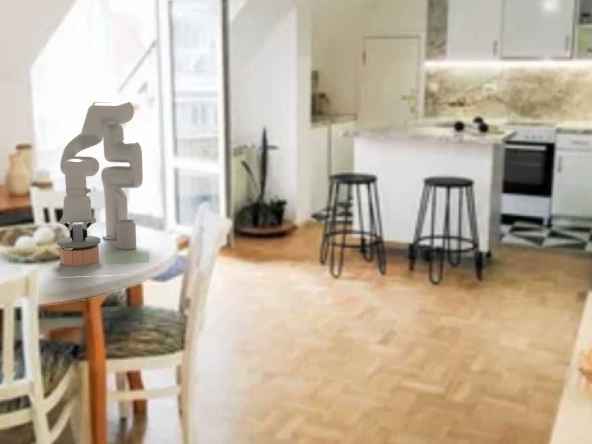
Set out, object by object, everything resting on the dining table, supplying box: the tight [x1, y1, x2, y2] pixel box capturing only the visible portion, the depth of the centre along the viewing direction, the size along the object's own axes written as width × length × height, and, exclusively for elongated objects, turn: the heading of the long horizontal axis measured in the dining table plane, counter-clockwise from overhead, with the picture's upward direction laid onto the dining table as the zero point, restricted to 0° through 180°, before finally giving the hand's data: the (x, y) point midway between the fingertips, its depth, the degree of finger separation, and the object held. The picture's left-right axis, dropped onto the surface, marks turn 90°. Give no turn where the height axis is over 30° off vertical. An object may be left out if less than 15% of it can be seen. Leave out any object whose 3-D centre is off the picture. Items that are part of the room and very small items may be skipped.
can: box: [116, 218, 137, 251], centre depth 300 cm, size 8×8×12 cm
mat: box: [105, 251, 150, 265], centre depth 286 cm, size 16×16×1 cm
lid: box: [56, 223, 102, 248], centre depth 278 cm, size 16×16×7 cm
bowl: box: [59, 244, 100, 267], centre depth 280 cm, size 14×14×6 cm
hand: (78, 239), depth 279 cm, fingers closed on lid, 3 cm apart
